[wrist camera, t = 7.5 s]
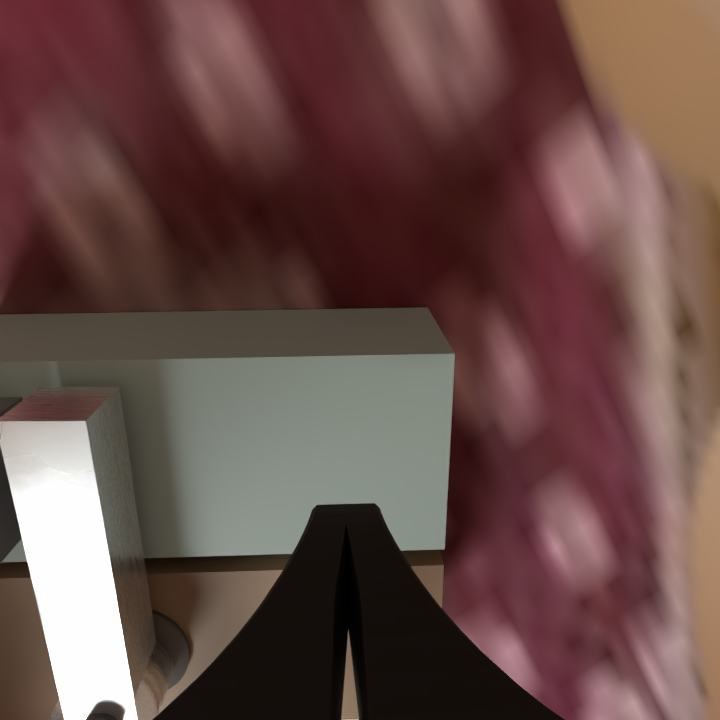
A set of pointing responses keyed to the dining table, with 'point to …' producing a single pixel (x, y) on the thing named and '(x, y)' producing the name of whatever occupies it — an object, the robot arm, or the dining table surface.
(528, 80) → the dining table surface
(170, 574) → the jamb
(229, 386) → the grey-green rectangular block
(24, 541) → the lock bar
